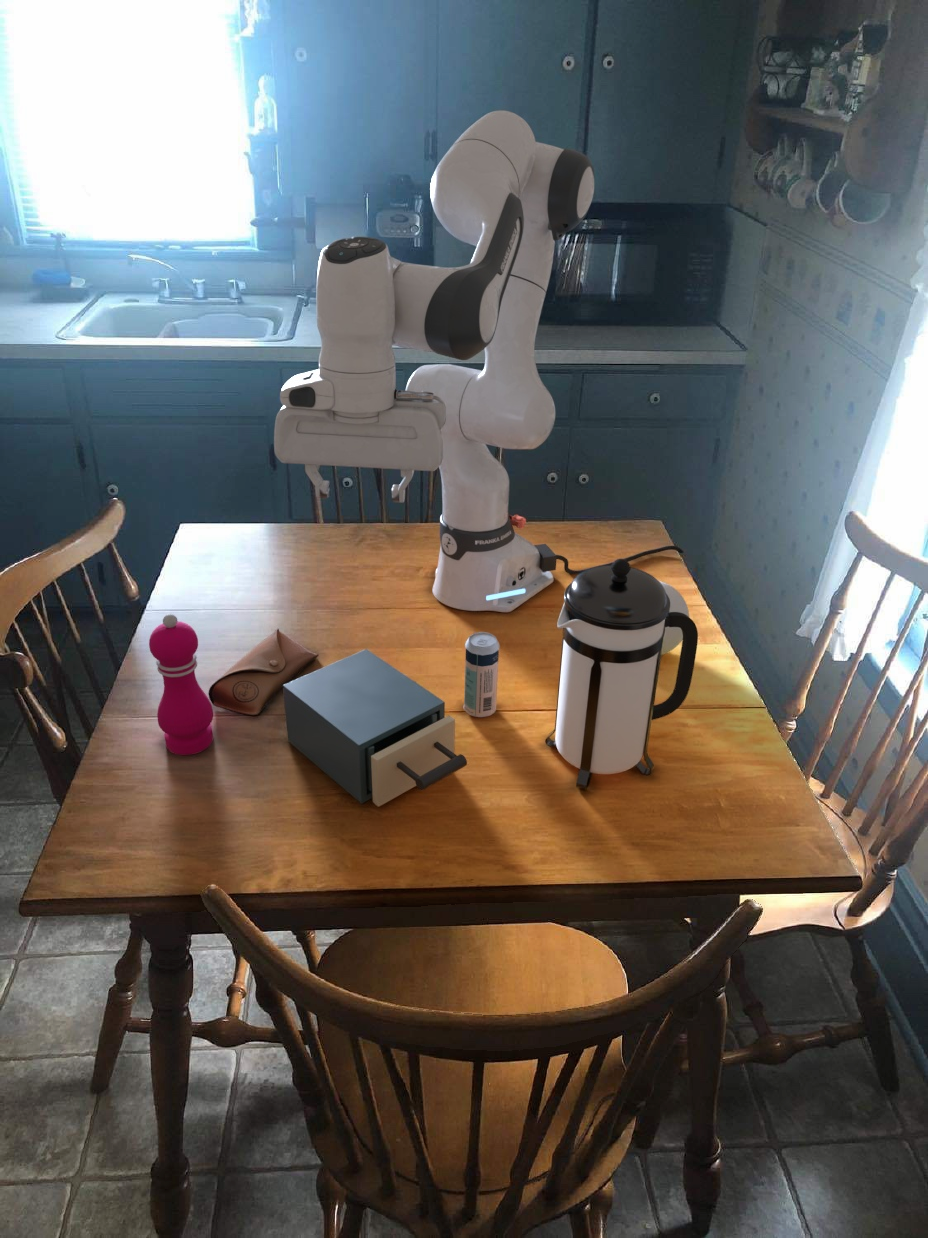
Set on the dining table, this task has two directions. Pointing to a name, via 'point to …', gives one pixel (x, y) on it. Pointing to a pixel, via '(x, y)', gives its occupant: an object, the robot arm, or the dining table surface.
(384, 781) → the drawer
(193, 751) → the pepper mill
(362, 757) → the cabinet
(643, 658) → the coffee press
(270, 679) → the sunglasses case
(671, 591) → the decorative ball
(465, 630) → the dining table surface
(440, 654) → the dining table surface
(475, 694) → the beer can
